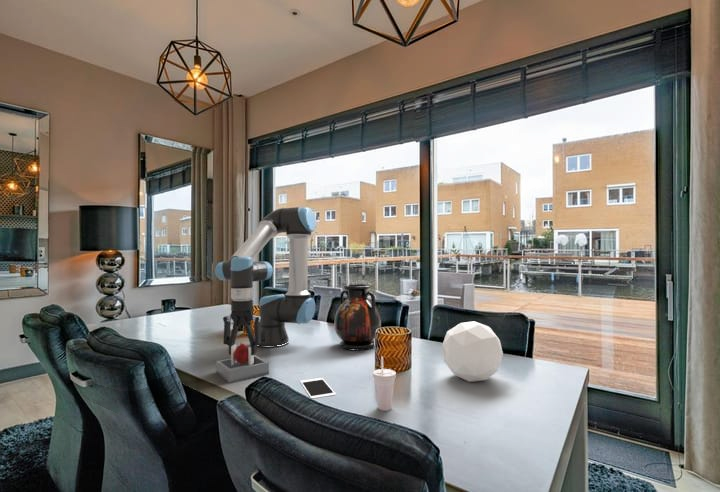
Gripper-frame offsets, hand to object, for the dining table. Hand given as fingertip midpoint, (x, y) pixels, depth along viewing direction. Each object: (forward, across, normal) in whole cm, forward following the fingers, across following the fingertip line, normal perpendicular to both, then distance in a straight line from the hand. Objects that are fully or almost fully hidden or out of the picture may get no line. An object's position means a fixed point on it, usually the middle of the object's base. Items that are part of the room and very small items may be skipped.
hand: (242, 363), depth 131 cm
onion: (0, 0, 0) cm, 0 cm away
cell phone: (+4, +30, -12) cm, 33 cm away
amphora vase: (+4, +37, +40) cm, 55 cm away
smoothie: (+3, +53, -25) cm, 58 cm away
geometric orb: (+4, +81, +1) cm, 81 cm away
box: (+3, 0, 0) cm, 3 cm away
